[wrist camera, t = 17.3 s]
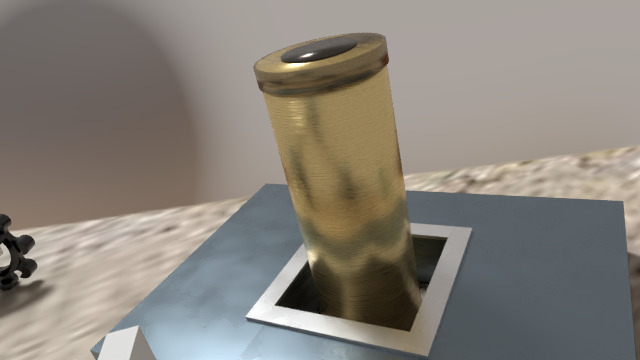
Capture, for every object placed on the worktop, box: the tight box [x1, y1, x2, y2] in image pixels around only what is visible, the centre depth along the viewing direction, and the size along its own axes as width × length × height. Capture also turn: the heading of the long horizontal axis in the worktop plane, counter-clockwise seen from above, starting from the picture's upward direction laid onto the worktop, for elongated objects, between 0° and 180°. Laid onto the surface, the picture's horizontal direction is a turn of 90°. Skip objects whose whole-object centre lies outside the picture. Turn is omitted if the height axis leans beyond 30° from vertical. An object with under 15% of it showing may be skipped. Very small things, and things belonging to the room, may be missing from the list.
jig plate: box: [90, 184, 636, 360], centre depth 24 cm, size 22×16×3 cm
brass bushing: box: [254, 33, 422, 332], centre depth 22 cm, size 5×5×14 cm
